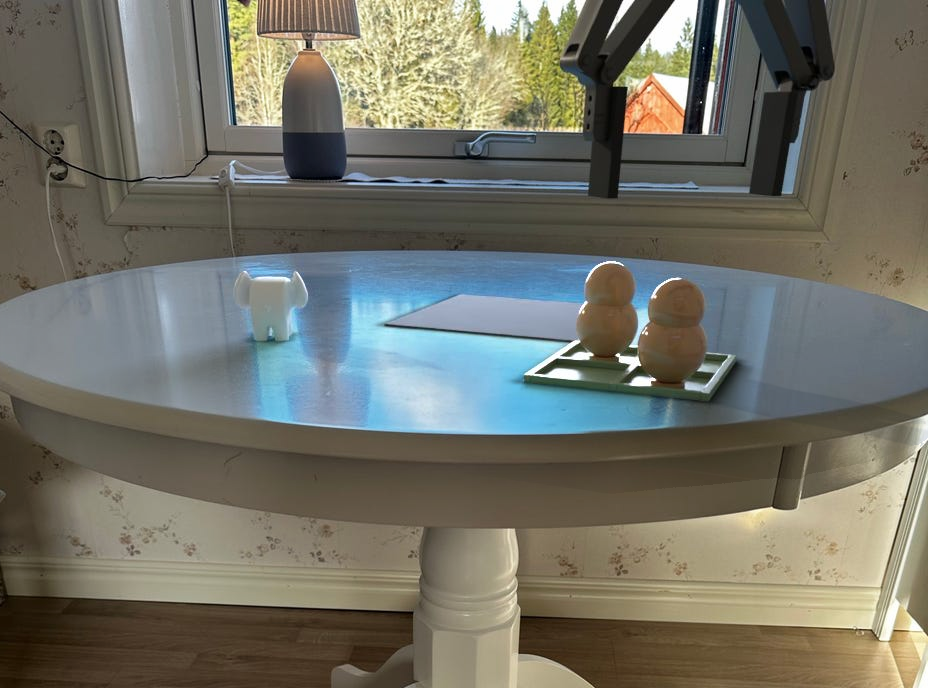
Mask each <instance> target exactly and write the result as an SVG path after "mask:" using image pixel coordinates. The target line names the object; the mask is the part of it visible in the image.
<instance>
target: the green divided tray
mask: <svg viewBox="0 0 928 688" xmlns="http://www.w3.org/2000/svg"><path fill="white" fill-rule="evenodd" d="M589 354H590V353H589V352H588V351H587V350H586V349H585V348H584V347H583V346H582V345H581V344H580V342H579V341H574V342H570V343H569V344H568V345H566V346H565V347H563V348H561V349H560V350H558V351H557V352H555V353H554V354H553V355H551V356H549V357H547V359H545V360H544V361H542V362H541V363H539V364H537V365H536V366H535V367H533V368H532V369H530V370H528V371H527V372H526V373H524V374H523V380H522V381H523V382H524V383H531V384H532V383H533V384H540V385H551V386H561V387H568V388H578V389H589V390H596V391H597V390H598V391H608V392H618V393H624V394H625V393H627V394H635V395H636V394H637V395H645V396H654V397H664V398H673V399H683V400H693V401H702V402H709V401H710V400H711V398H712V397H713V395H714V394H715V393H716V391H717V389H718V388H719V387H720V385H721V384H722V383H723V381H724V379H725V378H727V377H726V376H728V374H729V372H730V371H731V370H732V368H733V367H734V365H735V364H736V362H737V357H738V355H737V354H729V353H718V352H708V351H707V353H706V357H705V359H704V361H703V363H702V365H701V367H700V368H699V369H698V370H697V372H695V373H694V374H693V375H692V376H691V377H689V378H687V379H685V386H683V387H680V388H667V387H657V386H654V385H652V384H651V379H652V378H651V377H650V376H649V375H648V374H647V373H646V372H645V371H644V370H643V368H642V367H641V365H640V362H639V360H638V356H637V345H630V346H629V347H628V348H627V349H626V350H625V351H623V352H622V353H620V354H619V355H620V358H619V360H617V361H602V360H591V359H589Z"/></svg>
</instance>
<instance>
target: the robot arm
mask: <svg viewBox="0 0 928 688" xmlns="http://www.w3.org/2000/svg"><path fill="white" fill-rule="evenodd" d="M675 1H676V0H633V2H632V3H631V4H630V6H629V7H628V8H627V10H626V11H625V12H624V13H623V15H622V17H621V18H620V19H619V21H618V22H617V23H616V25H615V26H614V27H613V29H612V30H611V28H612V26H613V24H614V22H615V19H616V17H617V15H618V13H619V10H620V8H621V6H622V4H623V2H624V0H585V1H584V4H583V6H582V8H581V10H580V13H579V14H578V16H577V19H576V21H575V24H574V26H573V28H572V31H571V32H570V35H569V37H568V39H567V41H566V43H565V46H564V48H563V51H562V53H561V56H560V57H559V61H558V63H559V68H560V70H561V72H563V73H565V74H570V75H573V76H574V77H576V78H577V81H578V83H579V84H580V85H581V86H583V87H584V88H585V89H584V90H585V92H584V93H585V94H584V107H583V108H584V109H583V123H582V135H583V140H584V142H591V149H590V150H591V151H590V164H589V175H588V176H589V177H588V189H587V196H588V197H595V198H600V199H607V200H611V199H612V200H613V199H616V200H617V199H619V188H620V179H621V178H620V177H621V167H622V156H623V146H624V145H623V143H624V132H625V122H626V121H625V120H626V111H627V110H626V109H627V101H628V90H629V89H628V88H629V86H620V85H617V86H616V85H615V86H614V84H615V82H617V80H618V79H619V78H620V76H621V74H622V73H623V72H624V71H625V69H626V68H627V67H628V65H629V64H630V62H631V61H632V60H633V59H634V57H635V55H636V54H637V53H638V51H639V50H640V49H641V47H642V46H643V44H644V43H645V42H646V40H647V39H648V38H649V37H650V35H651V34H652V32H653V31H654V30H655V29H656V27H657V26H658V24H659V23H660V22H661V20H662V19H663V17H664V16H665V15H666V14H667V12H668V11H669V9H670V8H671V6H672V5H673V4H674V2H675ZM733 1H734V2H735V4H738V6H739V7H740V8H741V9H742V10H741V11H742V12H743V15H744V17H745V20H746V21H747V24H748V26H749V28H750V31H751V33H752V36H753V37H754V40H755V42H756V45H757V47H758V49H759V52H760V54H761V56H762V59H763V61H764V64H765V66H766V69H767V71H768V73H769V75H770V77H771V80H772V82H773V85H774V86H775V89H776V90H777V91H771V92H770V91H765V92H763V97H762V98H763V99H762V105H761V111H760V118H759V125H758V132H757V139H756V144H755V151H754V158H753V165H752V171H751V177H750V182H749V183H750V184H749V190H748V194H749V195H757V196H758V195H759V196H766V197H782V193H783V188H784V182H785V177H786V170H787V164H788V157H789V153H790V145H791V144H795V143H796V141H797V139H798V136H799V132H800V125H801V119H802V115H803V109H804V103H805V98H806V94H807V92H812V91H813V92H814V91H815V90H816V89H817V88H818V87H819V85H820V82H828V81H830V80H831V79H832V78H833V77H834V75H835V71H836V66H835V59H834V53H833V46H832V40H831V39H832V38H831V34H830V26H829V20H828V14H827V8H826V7H827V6H826V0H733ZM610 31H611V32H610Z"/></svg>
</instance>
